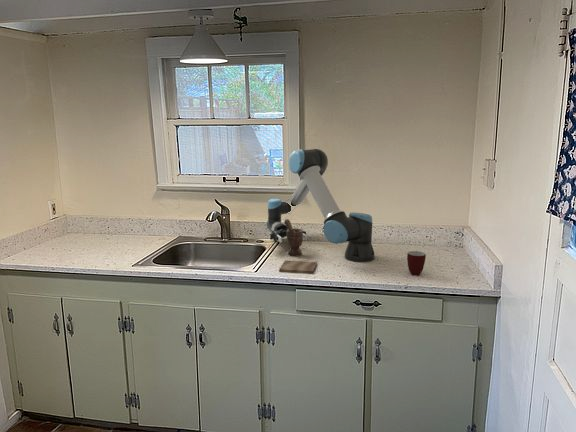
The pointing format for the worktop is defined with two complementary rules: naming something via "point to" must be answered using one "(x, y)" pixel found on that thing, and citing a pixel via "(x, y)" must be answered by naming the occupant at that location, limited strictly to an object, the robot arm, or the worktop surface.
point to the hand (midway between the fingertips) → (293, 238)
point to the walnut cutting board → (298, 266)
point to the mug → (416, 262)
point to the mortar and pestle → (294, 239)
